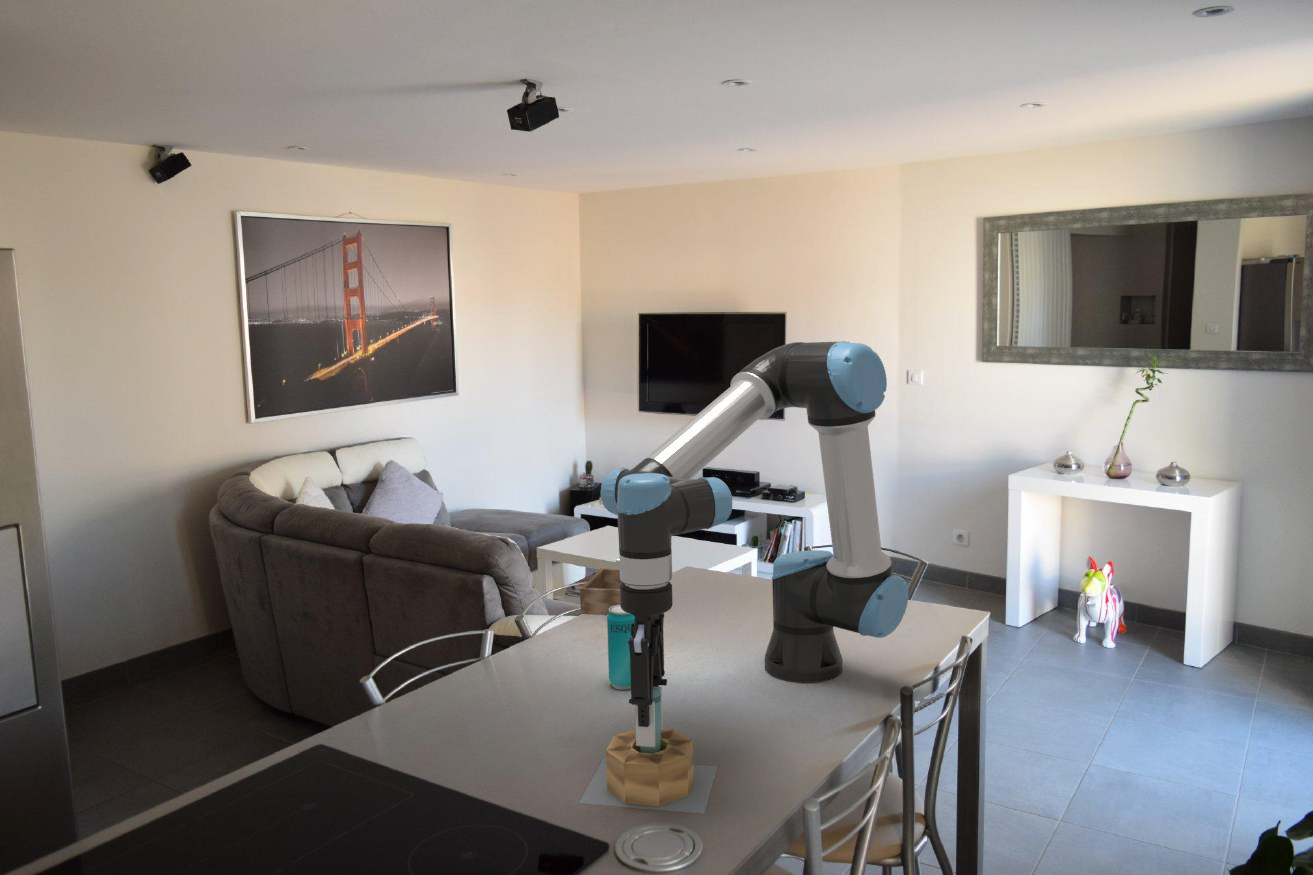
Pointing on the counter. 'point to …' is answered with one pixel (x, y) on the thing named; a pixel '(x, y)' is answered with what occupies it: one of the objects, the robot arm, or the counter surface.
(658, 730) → the teal capped bottle
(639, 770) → the wooden bead
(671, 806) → the slate mat
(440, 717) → the counter surface
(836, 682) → the counter surface
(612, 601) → the open wooden box
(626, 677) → the beverage can
